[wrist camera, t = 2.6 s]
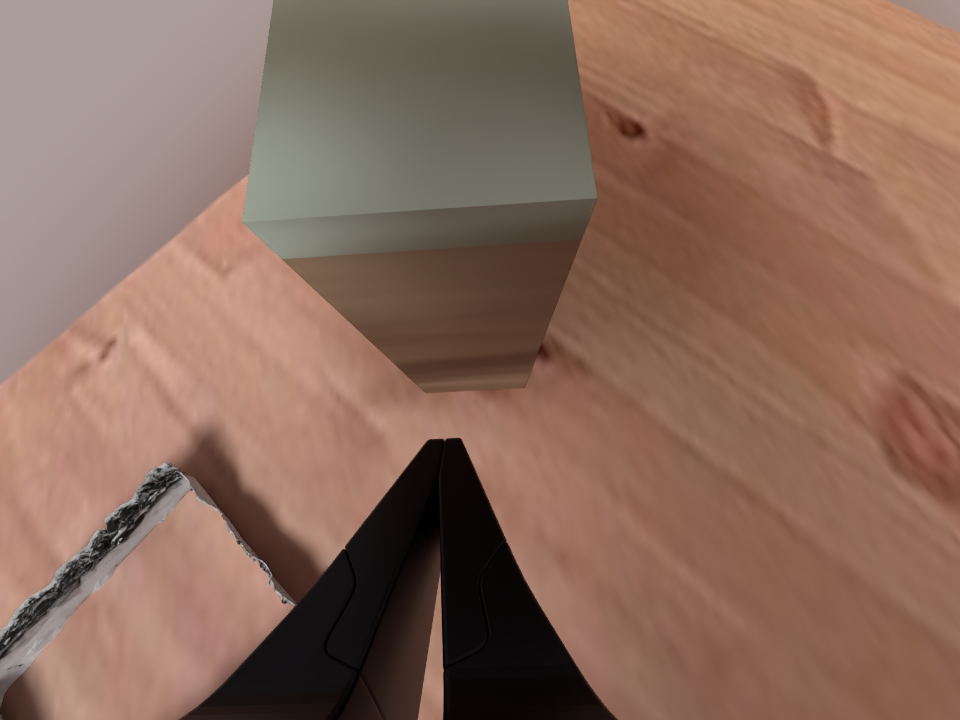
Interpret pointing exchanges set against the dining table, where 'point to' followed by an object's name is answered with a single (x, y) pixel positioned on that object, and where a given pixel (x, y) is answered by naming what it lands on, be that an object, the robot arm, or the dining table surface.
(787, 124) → the dining table surface
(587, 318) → the dining table surface
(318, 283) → the grey-green metal block
